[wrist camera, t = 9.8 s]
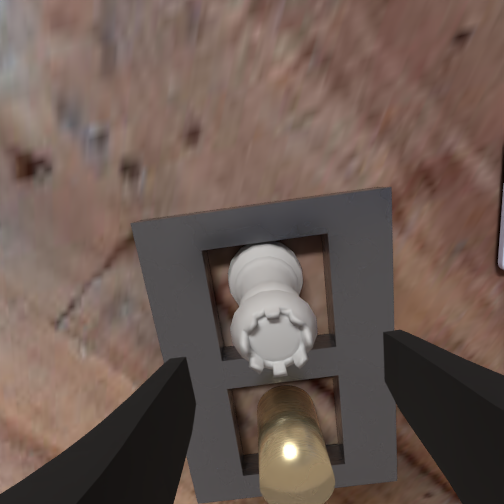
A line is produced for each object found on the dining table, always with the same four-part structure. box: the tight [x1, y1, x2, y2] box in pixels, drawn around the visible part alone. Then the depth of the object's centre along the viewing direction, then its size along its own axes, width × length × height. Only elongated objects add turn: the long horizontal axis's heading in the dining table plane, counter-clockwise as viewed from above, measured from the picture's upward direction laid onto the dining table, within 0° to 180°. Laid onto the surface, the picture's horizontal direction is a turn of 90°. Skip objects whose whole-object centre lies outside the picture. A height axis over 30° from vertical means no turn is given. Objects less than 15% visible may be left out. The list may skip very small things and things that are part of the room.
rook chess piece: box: [228, 241, 318, 377], centre depth 13 cm, size 4×4×8 cm
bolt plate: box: [131, 187, 397, 504], centre depth 16 cm, size 14×20×5 cm
